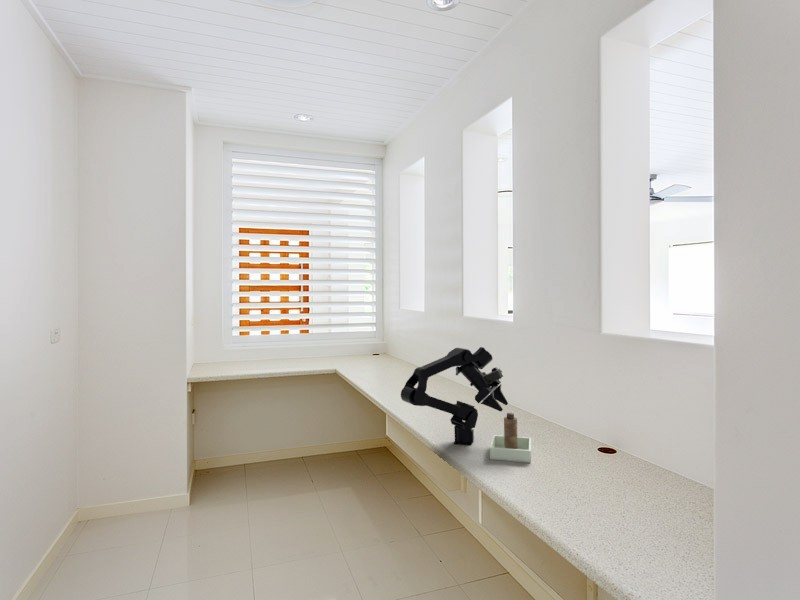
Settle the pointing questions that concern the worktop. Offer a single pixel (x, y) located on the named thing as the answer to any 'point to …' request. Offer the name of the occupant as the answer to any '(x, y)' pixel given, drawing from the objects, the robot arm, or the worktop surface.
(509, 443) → the mill
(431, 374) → the robot arm
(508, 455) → the bin
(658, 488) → the worktop surface
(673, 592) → the worktop surface
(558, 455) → the worktop surface
